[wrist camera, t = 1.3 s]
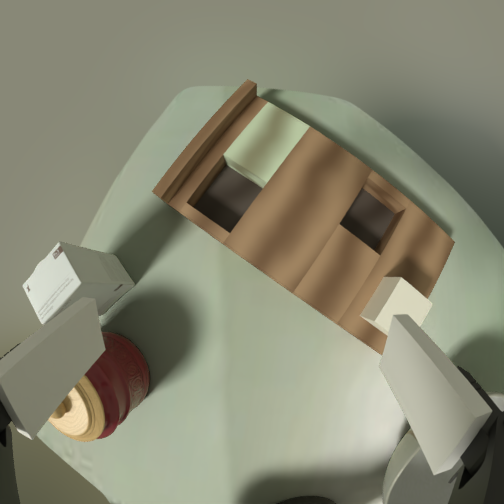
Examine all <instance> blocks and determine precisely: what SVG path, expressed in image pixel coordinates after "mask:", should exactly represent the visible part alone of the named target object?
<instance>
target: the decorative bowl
mask: <svg viewBox="0 0 504 504" xmlns="http://www.w3.org/2000/svg"><path fill="white" fill-rule="evenodd" d="M486 393H487V394H488V396H489V397H490V398H491V399H492V400H493V402H494V403H495V404H496V405H497V407H498V408H499V409H500V410H501V411H502V412H503V411H504V394H503V393H499V392H486ZM462 465H463V462H462V460H461V458H460V459H459V460H458V461H457V462H456V464H455V465H454V466H453V467H452V469H449V470H447V471H444V472H441V473H439V474H436V475H433V472H432V470H431V468H430V466H429V464H428V462H427V459H426V457H425V455H424V453H423V451H422V449H421V447H420V445H419V443H418V441H417V438H416V436H415V434H414V432H413V430H412V428H410V429H409V430H408V431H407V433H406V434H405V436H404V437H403V438H402V440H401V441H400V442H399V444H398V446H397V447H396V449H395V451H394V453H393V455H392V457H391V459H390V461H389V464H388V466H387V469H386V473H385V477H384V482H383V492H382V497H383V504H448V501H449V499H450V496H451V493H452V490H453V487H454V484H455V481H456V478H457V477H456V478H455V479H454V480H453V481H452V482H451V484H450V483H448V482H449V480H450V479H451V477H452V476H453V475H454V474H455V473H456V472H457V471H458V470H459V468H460V467H461V466H462Z"/></svg>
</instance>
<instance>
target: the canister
mask: <svg viewBox="0 0 504 504" xmlns="http://www.w3.org/2000/svg"><path fill="white" fill-rule="evenodd" d="M102 336H103V341H104V345H105V349H106V350H105V351H104V352H103V353H102V354H101V356H100V357H99V358H98V359H97V360H96V361H95V363H94V364H93V365H92V366H91V367H90V368H89V370H88V371H87V372H86V373H85V374H84V376H83V377H82V378H81V379H80V380H79V382H78V383H77V384H76V385H75V386H74V388H73V389H72V390H71V391H70V393H69V394H68V395H67V396H66V397H65V399H64V400H63V401H62V402H61V404H60V405H59V406H58V407H57V409H56V410H55V411H54V412H53V414H52V415H51V416H50V418H49V419H48V420H49V421H50V423H51V424H52V425H53V426H54V427H55V428H56V429H58V430H59V431H60V432H61V433H63V434H64V435H66V436H68V437H70V438H72V439H74V440H77V441H82V442H88V441H93V440H95V439H102V438H105V437H108V436H109V435H111V434H112V433H113V432H114V431H115V429H116V428H117V426H118V425H120V424H121V423H122V422H123V421H124V420H125V419H126V417H127V416H128V414H129V413H130V412H131V411H132V410H133V409H134V408H136V407H137V406H138V405H139V404H140V403H141V402H142V401H143V400H144V398H145V396H146V394H147V391H148V388H149V384H150V373H149V369H148V365H147V363H146V360H145V358H144V356H143V355H142V353H141V352H140V350H139V349H138V348H137V347H136V346H135V345H134V344H133V343H132V342H131V341H130V340H128V339H127V338H125V337H124V336H122V335H119V334H117V333H112V332H102Z"/></svg>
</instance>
